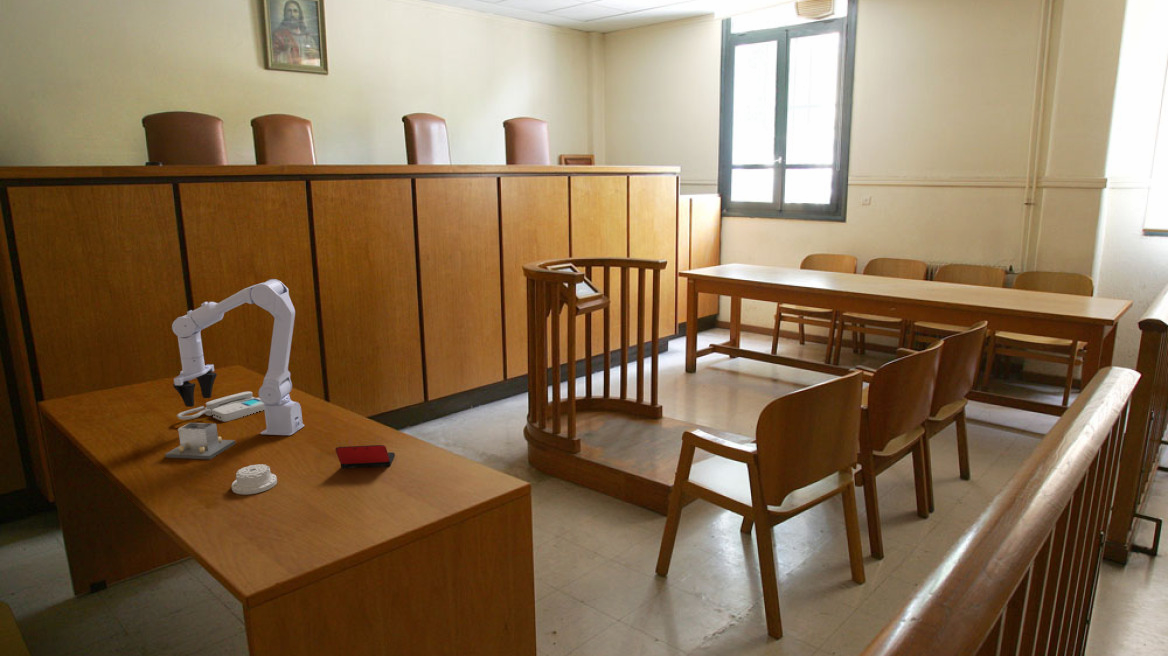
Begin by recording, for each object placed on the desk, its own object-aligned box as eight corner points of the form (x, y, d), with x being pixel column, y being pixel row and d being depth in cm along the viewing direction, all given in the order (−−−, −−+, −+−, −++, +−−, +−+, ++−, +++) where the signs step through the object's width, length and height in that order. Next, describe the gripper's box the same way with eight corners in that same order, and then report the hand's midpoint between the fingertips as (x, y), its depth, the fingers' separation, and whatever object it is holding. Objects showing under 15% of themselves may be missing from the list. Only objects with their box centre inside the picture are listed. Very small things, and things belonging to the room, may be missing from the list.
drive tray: (235, 443, 201) (234, 435, 200) (210, 459, 190) (209, 450, 190) (193, 441, 203) (192, 433, 202) (165, 457, 192) (164, 448, 192)
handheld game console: (396, 456, 191) (393, 429, 190) (387, 472, 181) (385, 445, 179) (348, 457, 190) (345, 431, 189) (337, 475, 180) (334, 447, 178)
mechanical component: (223, 494, 170) (260, 497, 168) (220, 476, 169) (258, 479, 167) (250, 476, 180) (285, 479, 178) (247, 460, 179) (283, 462, 177)
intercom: (169, 410, 217) (249, 389, 237) (171, 423, 218) (250, 401, 238) (190, 418, 210) (271, 396, 229) (192, 432, 211) (272, 409, 230)
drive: (218, 444, 198) (216, 423, 197) (208, 450, 193) (205, 429, 192) (192, 443, 199) (189, 422, 198) (181, 449, 195) (177, 428, 193)
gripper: (196, 349, 212) (202, 393, 215) (161, 363, 198) (168, 409, 201) (218, 350, 211) (224, 394, 214) (184, 363, 197) (191, 410, 200)
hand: (198, 401), depth 208 cm, fingers open, 7 cm apart
